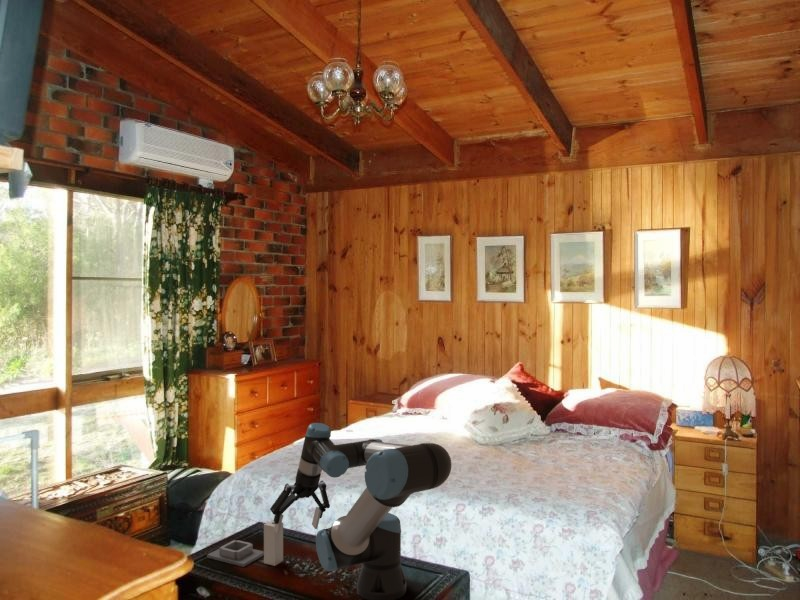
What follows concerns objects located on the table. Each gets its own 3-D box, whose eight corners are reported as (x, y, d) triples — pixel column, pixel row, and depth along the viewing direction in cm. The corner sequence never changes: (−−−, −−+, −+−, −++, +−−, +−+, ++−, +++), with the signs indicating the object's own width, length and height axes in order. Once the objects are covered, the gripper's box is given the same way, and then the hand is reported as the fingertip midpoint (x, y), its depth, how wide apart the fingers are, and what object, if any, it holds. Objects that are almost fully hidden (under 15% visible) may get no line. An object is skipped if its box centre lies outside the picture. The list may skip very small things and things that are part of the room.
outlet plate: (265, 554, 220) (265, 544, 220) (243, 567, 210) (243, 556, 210) (229, 546, 227) (229, 536, 227) (207, 557, 217) (207, 547, 217)
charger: (283, 560, 215) (283, 521, 215) (274, 565, 211) (274, 526, 211) (272, 558, 217) (272, 519, 217) (263, 563, 213) (263, 523, 213)
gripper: (338, 462, 213) (324, 518, 217) (268, 466, 199) (255, 526, 203) (348, 473, 207) (334, 531, 211) (277, 479, 193) (264, 540, 197)
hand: (295, 529), depth 207 cm, fingers open, 13 cm apart
